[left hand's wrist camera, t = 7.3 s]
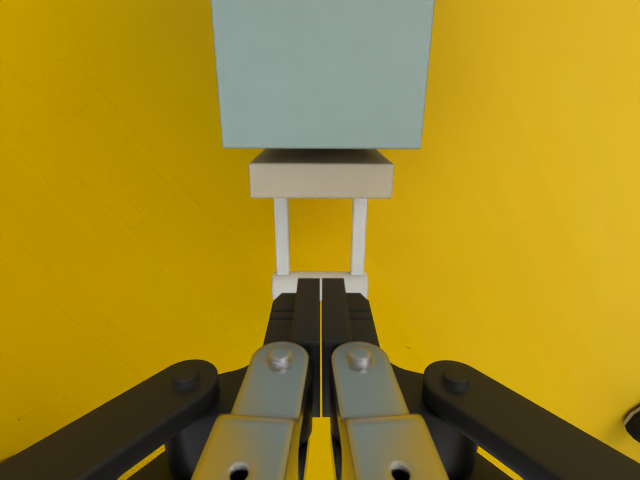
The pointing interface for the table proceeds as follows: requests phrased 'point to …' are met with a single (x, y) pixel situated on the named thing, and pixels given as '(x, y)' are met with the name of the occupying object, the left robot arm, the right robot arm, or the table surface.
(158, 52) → the table surface
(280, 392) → the left robot arm
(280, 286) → the drawer
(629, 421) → the figurine
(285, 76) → the cabinet
